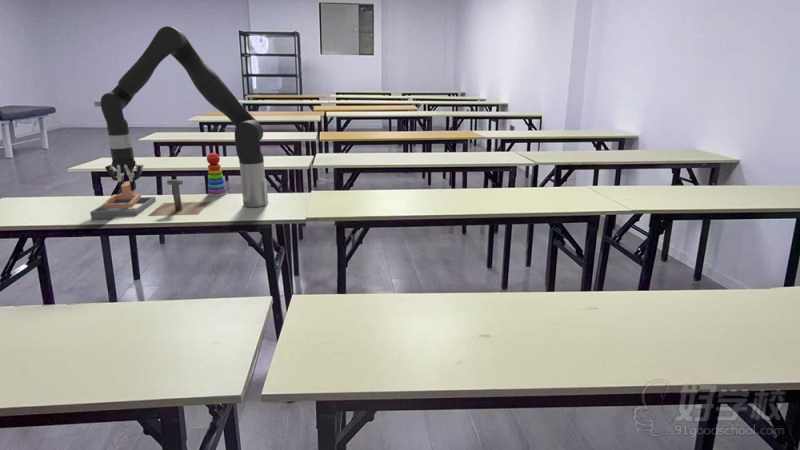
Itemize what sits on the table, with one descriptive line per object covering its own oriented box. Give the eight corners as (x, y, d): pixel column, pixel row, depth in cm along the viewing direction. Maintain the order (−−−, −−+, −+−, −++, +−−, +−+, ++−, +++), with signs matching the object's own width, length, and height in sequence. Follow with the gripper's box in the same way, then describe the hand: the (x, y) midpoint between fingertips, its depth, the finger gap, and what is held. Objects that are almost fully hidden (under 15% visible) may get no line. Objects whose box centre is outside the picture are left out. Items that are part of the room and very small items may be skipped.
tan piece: (145, 192, 206) (143, 181, 204) (131, 207, 192) (128, 195, 190) (119, 193, 205) (116, 181, 203) (103, 208, 191) (100, 195, 189)
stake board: (210, 204, 208) (206, 173, 204) (198, 217, 191) (194, 183, 187) (164, 205, 206) (159, 174, 202) (147, 219, 189) (142, 184, 185)
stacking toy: (207, 195, 222) (202, 152, 217) (226, 193, 225) (221, 150, 220) (209, 199, 215) (203, 155, 210) (229, 197, 219) (224, 153, 213)
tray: (156, 204, 209) (155, 196, 208) (137, 218, 190) (136, 210, 189) (114, 205, 207) (113, 198, 206) (91, 220, 188) (90, 212, 187)
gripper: (143, 144, 201) (150, 187, 206) (106, 145, 199) (113, 188, 205) (136, 147, 194) (143, 192, 199) (97, 148, 192) (105, 193, 197)
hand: (128, 190), depth 202 cm, fingers closed on tan piece, 3 cm apart
